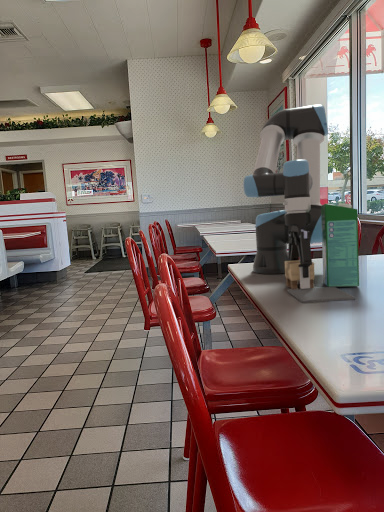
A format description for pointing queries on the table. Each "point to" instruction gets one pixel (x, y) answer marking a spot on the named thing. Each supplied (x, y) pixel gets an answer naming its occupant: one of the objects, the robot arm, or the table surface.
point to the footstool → (296, 274)
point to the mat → (320, 294)
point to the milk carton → (340, 245)
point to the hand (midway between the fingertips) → (300, 285)
